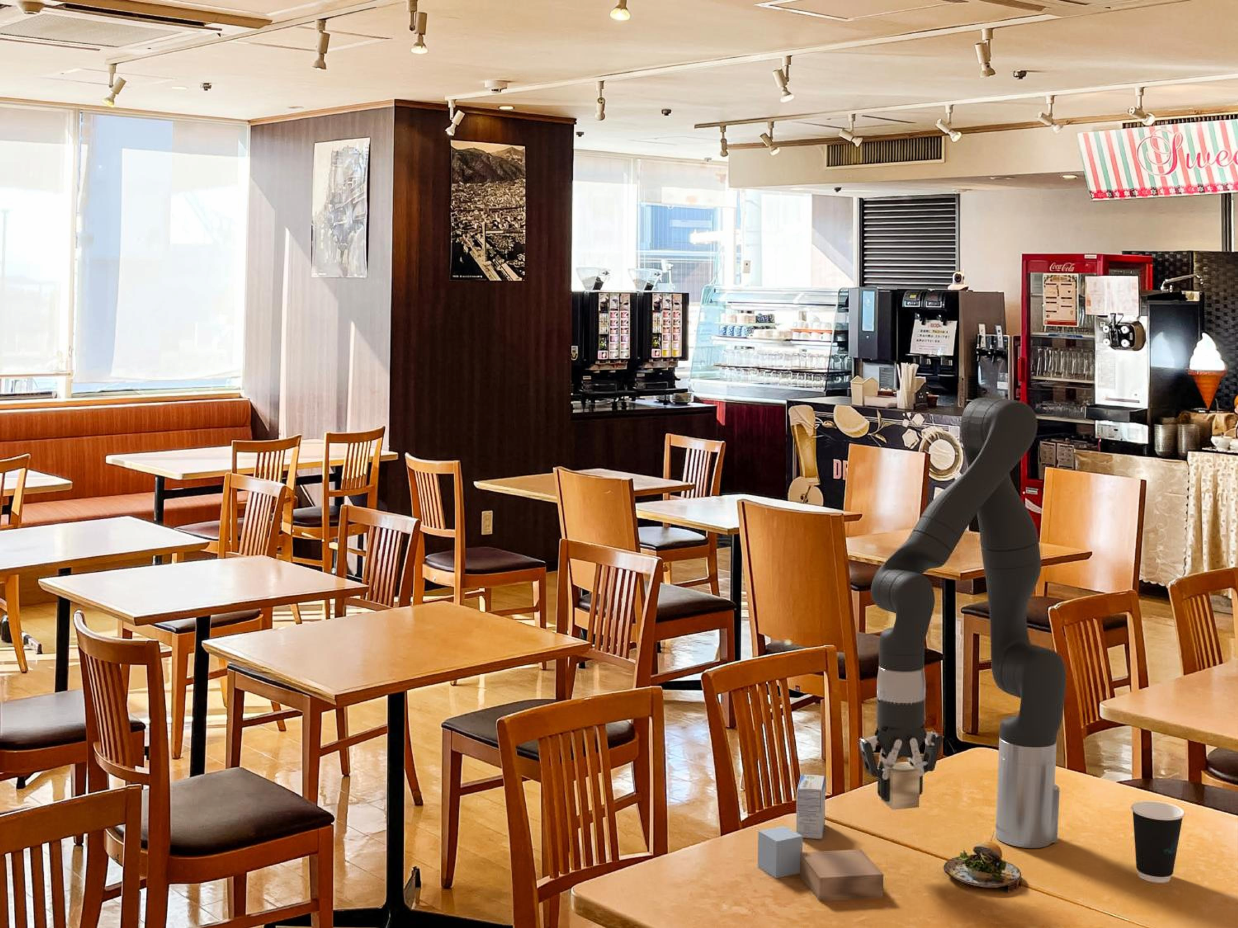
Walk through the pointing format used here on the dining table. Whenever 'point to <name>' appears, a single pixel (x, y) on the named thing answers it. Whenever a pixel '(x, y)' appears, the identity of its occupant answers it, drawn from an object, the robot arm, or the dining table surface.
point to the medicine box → (810, 806)
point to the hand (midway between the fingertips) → (899, 797)
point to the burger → (984, 868)
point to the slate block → (779, 851)
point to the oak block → (903, 786)
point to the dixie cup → (1156, 839)
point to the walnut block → (841, 875)
